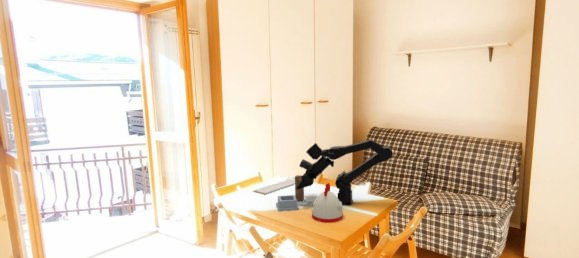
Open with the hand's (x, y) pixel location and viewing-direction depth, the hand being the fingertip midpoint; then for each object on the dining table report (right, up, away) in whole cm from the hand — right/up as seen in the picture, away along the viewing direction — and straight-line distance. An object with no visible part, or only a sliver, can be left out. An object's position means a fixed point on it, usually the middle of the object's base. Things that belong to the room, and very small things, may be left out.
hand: (298, 186), depth 168 cm
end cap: (-6, -9, -8) cm, 13 cm away
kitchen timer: (+12, -10, -22) cm, 27 cm away
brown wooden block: (0, -8, +1) cm, 8 cm away
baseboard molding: (-13, -6, +27) cm, 31 cm away
